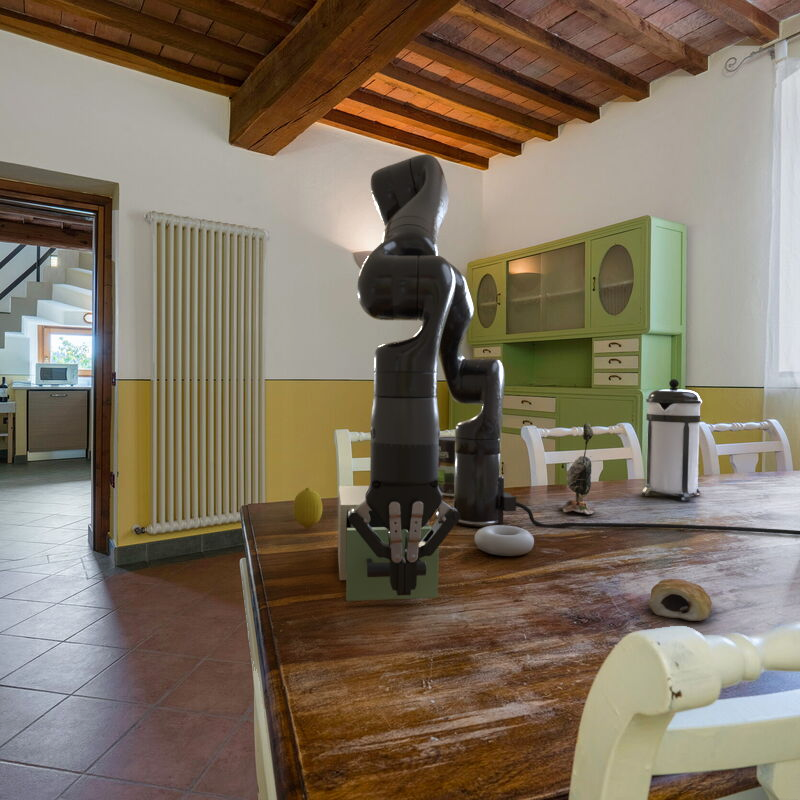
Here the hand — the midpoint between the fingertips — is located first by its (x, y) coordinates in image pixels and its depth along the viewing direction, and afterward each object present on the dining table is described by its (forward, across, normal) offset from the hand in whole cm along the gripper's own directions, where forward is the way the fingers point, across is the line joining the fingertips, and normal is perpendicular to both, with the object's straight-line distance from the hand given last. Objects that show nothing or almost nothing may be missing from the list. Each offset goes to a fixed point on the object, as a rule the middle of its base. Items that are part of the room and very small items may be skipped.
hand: (402, 592), depth 63 cm
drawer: (+4, 0, -13) cm, 13 cm away
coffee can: (+5, -24, -80) cm, 84 cm away
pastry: (+5, -36, -4) cm, 36 cm away
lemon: (+5, +12, -47) cm, 49 cm away
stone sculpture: (+5, -47, -58) cm, 75 cm away
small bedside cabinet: (+5, 0, -26) cm, 26 cm away
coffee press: (+5, -80, -74) cm, 109 cm away
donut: (+5, -22, -31) cm, 38 cm away
